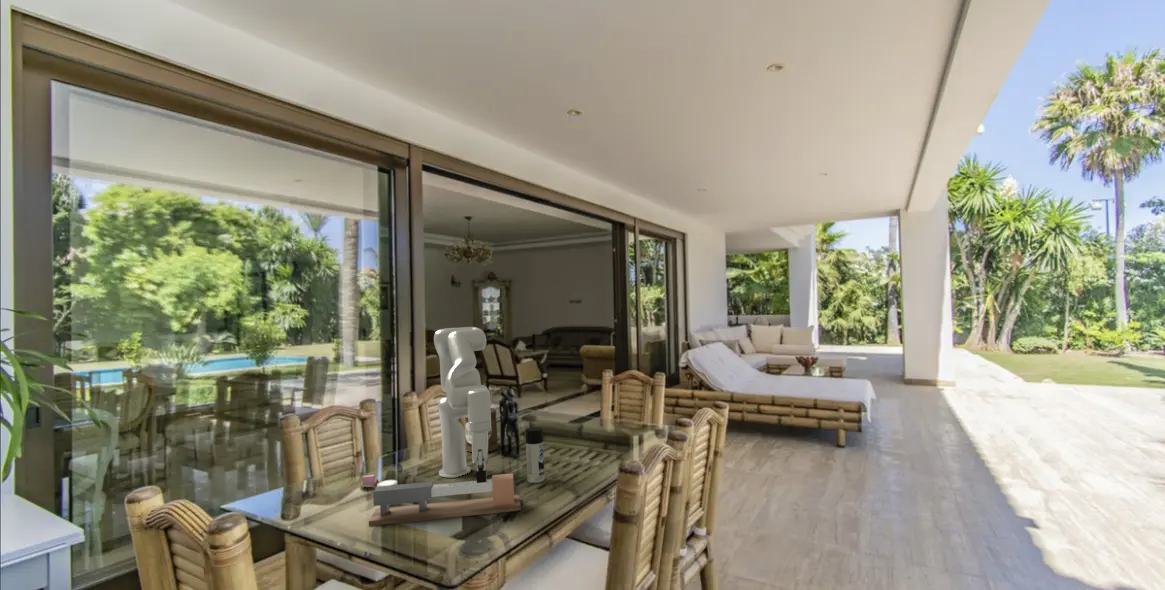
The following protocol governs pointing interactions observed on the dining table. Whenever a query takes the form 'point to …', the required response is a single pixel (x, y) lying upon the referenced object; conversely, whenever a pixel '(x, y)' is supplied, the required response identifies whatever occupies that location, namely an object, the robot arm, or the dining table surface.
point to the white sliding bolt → (461, 488)
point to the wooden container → (491, 434)
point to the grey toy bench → (402, 495)
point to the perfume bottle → (370, 480)
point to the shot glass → (387, 483)
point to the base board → (442, 511)
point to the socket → (503, 489)
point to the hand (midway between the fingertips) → (481, 478)
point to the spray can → (534, 455)
